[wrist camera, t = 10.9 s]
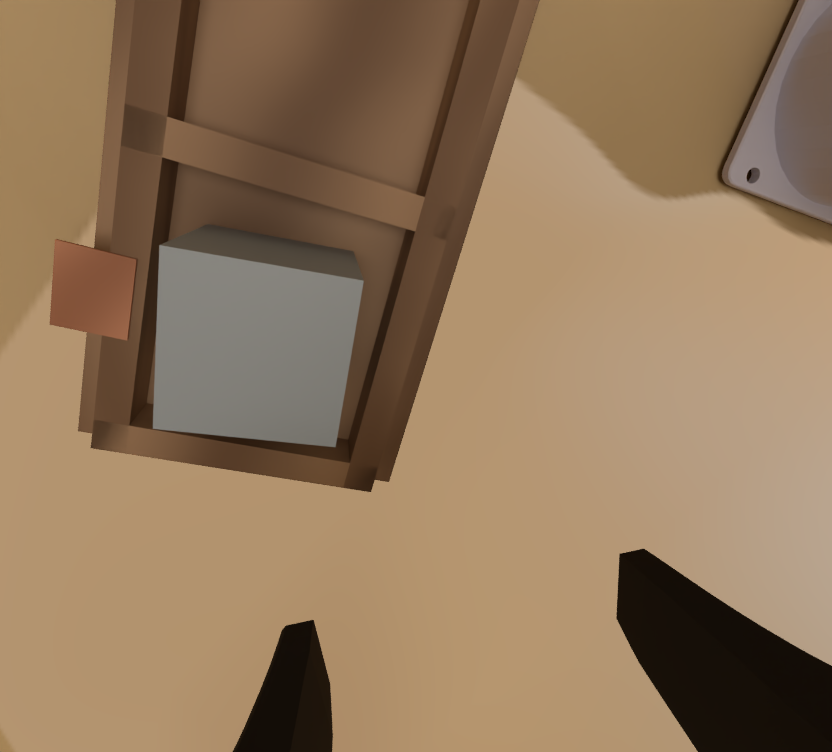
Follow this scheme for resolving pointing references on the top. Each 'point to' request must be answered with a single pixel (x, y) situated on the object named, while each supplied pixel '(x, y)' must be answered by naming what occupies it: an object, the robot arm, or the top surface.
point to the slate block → (254, 336)
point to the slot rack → (289, 192)
